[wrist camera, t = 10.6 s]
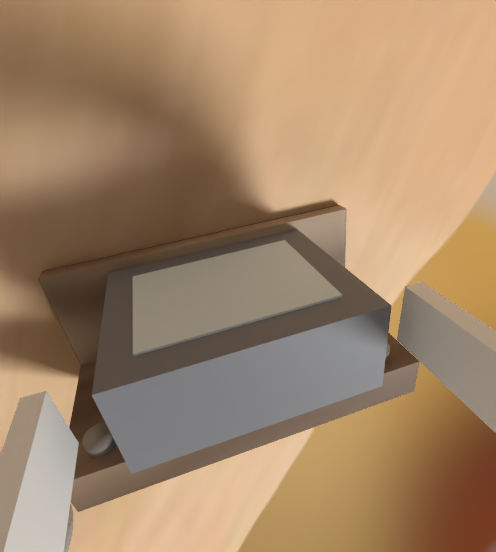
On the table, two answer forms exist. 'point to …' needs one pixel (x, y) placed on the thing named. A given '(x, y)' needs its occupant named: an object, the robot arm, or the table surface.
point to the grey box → (232, 344)
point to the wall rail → (85, 339)
